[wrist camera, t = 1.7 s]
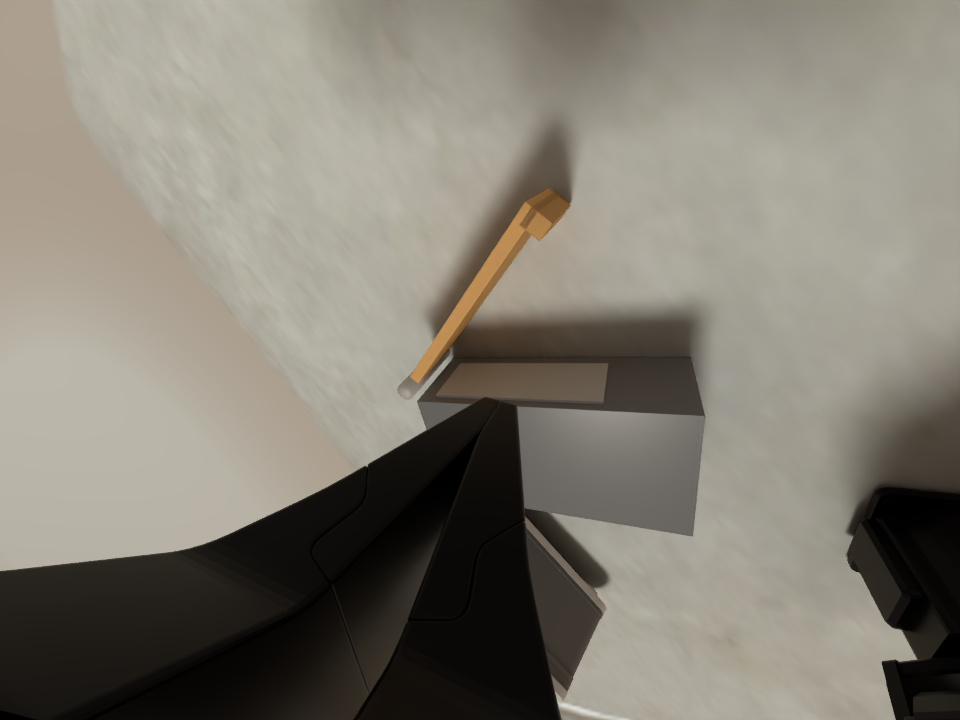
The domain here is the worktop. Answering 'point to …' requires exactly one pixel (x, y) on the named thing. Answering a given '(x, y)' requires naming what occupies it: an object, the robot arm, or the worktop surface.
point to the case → (590, 431)
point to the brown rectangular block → (495, 270)
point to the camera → (561, 609)
